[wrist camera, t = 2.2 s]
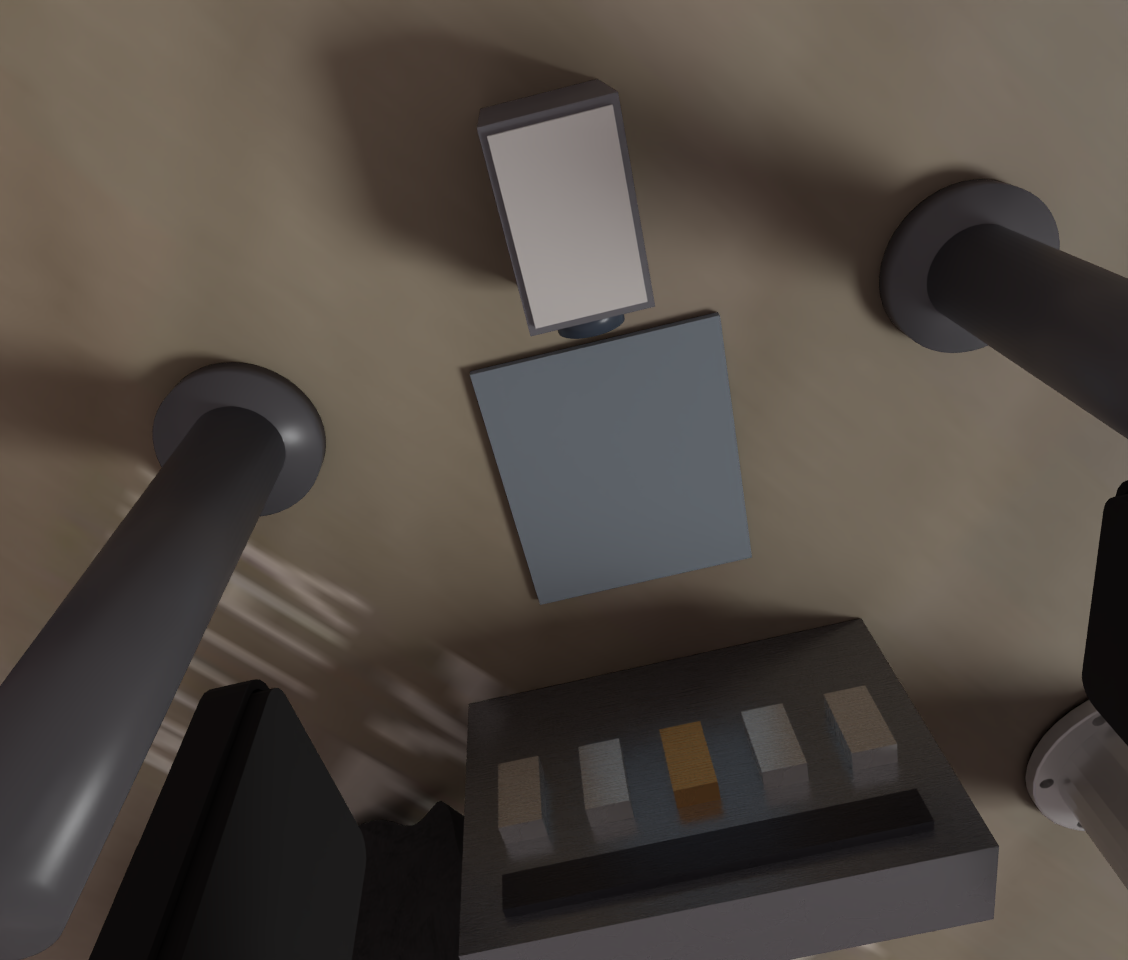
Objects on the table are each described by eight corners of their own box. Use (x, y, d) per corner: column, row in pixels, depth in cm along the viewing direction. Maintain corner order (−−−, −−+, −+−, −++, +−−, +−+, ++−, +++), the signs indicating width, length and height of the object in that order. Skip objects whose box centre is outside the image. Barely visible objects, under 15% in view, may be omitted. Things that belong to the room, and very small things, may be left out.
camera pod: (597, 78, 30) (618, 92, 25) (635, 284, 34) (660, 334, 29) (480, 108, 31) (476, 128, 25) (531, 309, 35) (537, 364, 29)
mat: (717, 312, 35) (719, 315, 35) (749, 552, 42) (751, 557, 41) (470, 371, 36) (469, 375, 35) (539, 599, 42) (540, 604, 42)
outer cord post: (290, 345, 34) (29, 762, 15) (348, 484, 38) (195, 966, 19) (133, 383, 35) (-317, 839, 16) (205, 517, 38) (-90, 1025, 19)
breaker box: (860, 601, 44) (1000, 826, 32) (864, 684, 47) (993, 919, 35) (462, 688, 45) (450, 939, 33) (492, 764, 48) (491, 1019, 36)
